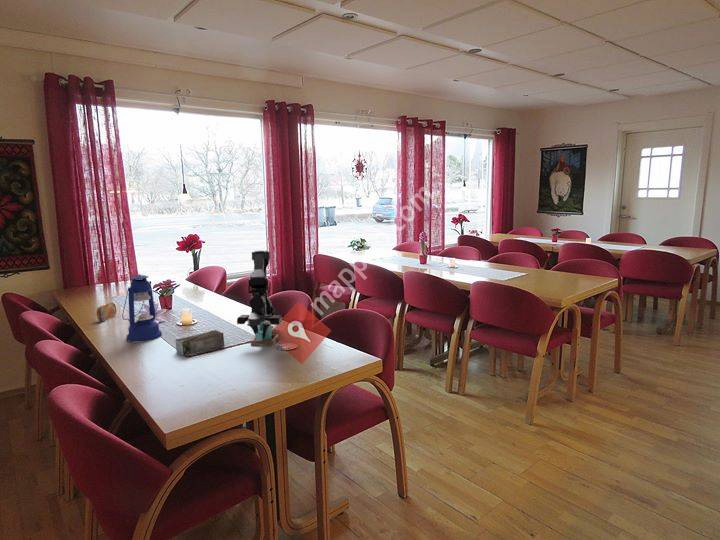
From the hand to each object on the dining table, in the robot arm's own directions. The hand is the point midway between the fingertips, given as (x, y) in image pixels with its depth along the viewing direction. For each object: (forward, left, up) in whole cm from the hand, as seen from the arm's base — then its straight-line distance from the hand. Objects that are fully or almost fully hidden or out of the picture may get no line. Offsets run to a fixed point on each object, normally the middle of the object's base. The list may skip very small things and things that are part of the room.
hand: (260, 338), depth 203 cm
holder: (-6, 0, -4) cm, 7 cm away
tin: (-39, -98, -4) cm, 106 cm away
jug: (-3, 0, -3) cm, 4 cm away
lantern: (-10, -60, -4) cm, 61 cm away
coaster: (+1, +12, -4) cm, 13 cm away
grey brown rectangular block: (+5, -25, -4) cm, 26 cm away
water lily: (-34, -68, -4) cm, 76 cm away
